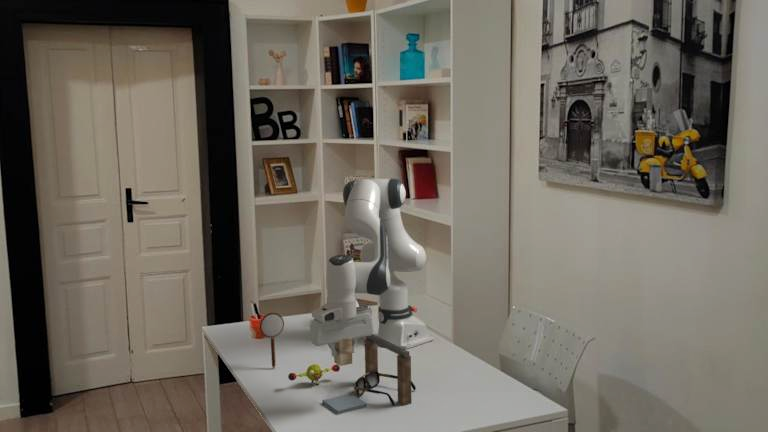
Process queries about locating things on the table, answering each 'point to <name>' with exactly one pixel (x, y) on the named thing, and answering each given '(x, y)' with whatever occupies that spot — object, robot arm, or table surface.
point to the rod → (388, 345)
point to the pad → (344, 403)
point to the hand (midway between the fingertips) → (343, 354)
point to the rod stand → (402, 371)
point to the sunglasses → (373, 383)
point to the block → (344, 352)
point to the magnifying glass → (272, 329)
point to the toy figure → (314, 373)
